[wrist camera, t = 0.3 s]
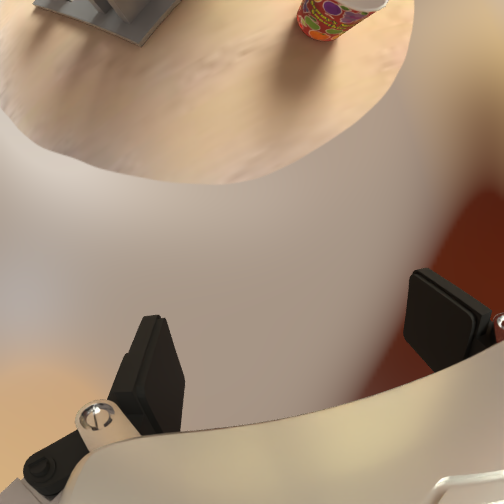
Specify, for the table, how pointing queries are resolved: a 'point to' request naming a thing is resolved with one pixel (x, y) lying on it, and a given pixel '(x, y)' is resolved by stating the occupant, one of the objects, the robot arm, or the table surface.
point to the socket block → (115, 15)
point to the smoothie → (334, 16)
